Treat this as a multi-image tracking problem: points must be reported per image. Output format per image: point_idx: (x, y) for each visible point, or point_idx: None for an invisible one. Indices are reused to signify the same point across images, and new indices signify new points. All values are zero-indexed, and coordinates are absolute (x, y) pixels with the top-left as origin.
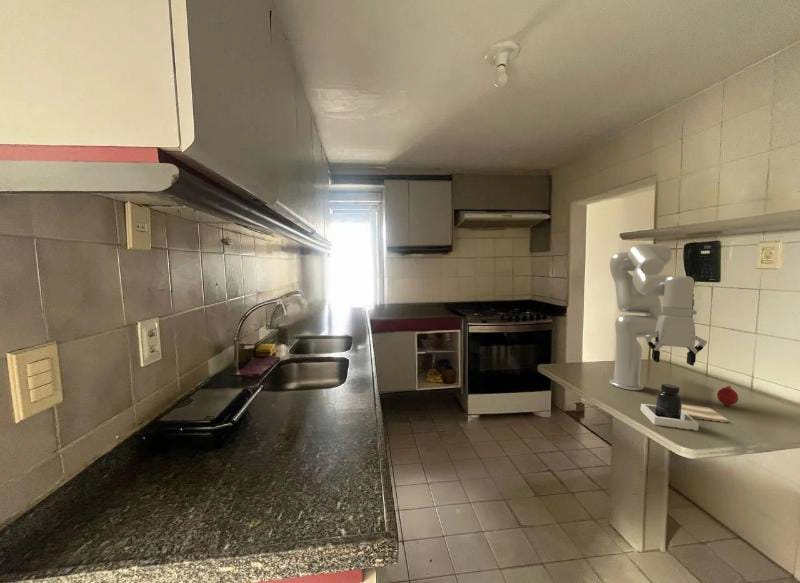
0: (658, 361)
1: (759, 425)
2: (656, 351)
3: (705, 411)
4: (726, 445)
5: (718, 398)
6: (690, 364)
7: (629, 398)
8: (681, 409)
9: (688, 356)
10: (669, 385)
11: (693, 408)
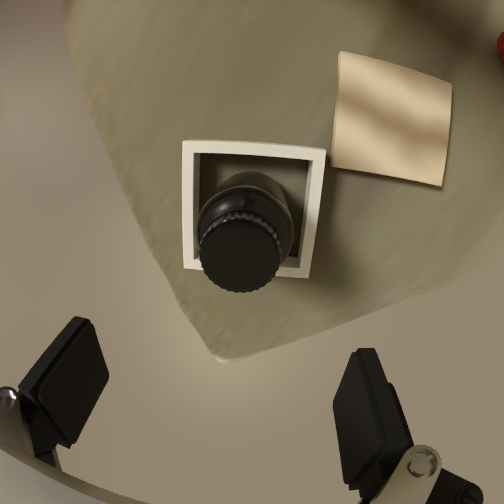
0: (102, 382)
1: (495, 185)
2: (52, 423)
3: (421, 121)
4: (320, 331)
5: (498, 43)
6: (334, 400)
7: (200, 22)
8: (323, 161)
9: (358, 426)
10: (236, 253)
11: (397, 96)
